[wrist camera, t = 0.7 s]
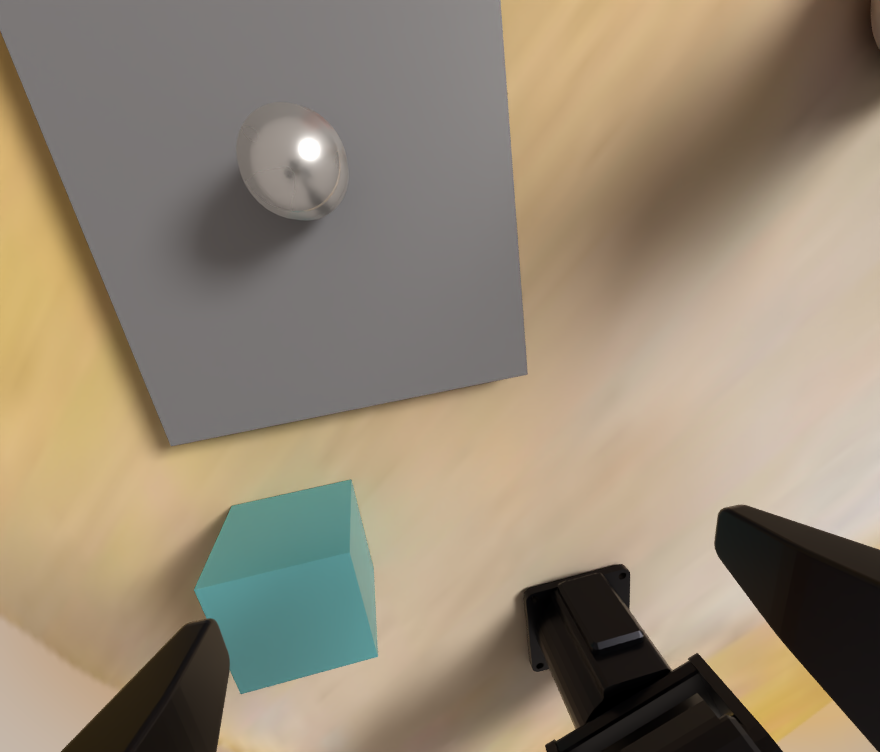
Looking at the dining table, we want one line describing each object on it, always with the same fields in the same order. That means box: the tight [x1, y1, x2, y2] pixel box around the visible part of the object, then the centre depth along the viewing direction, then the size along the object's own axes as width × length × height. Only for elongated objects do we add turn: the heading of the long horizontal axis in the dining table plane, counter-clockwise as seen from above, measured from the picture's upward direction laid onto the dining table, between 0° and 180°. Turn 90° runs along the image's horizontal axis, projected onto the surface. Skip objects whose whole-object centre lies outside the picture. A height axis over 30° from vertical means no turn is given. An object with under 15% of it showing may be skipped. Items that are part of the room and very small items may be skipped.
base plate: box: [0, 0, 528, 446], centre depth 16 cm, size 18×15×2 cm
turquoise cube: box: [194, 480, 378, 694], centre depth 19 cm, size 6×6×5 cm
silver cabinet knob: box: [236, 102, 349, 221], centre depth 13 cm, size 3×3×4 cm
